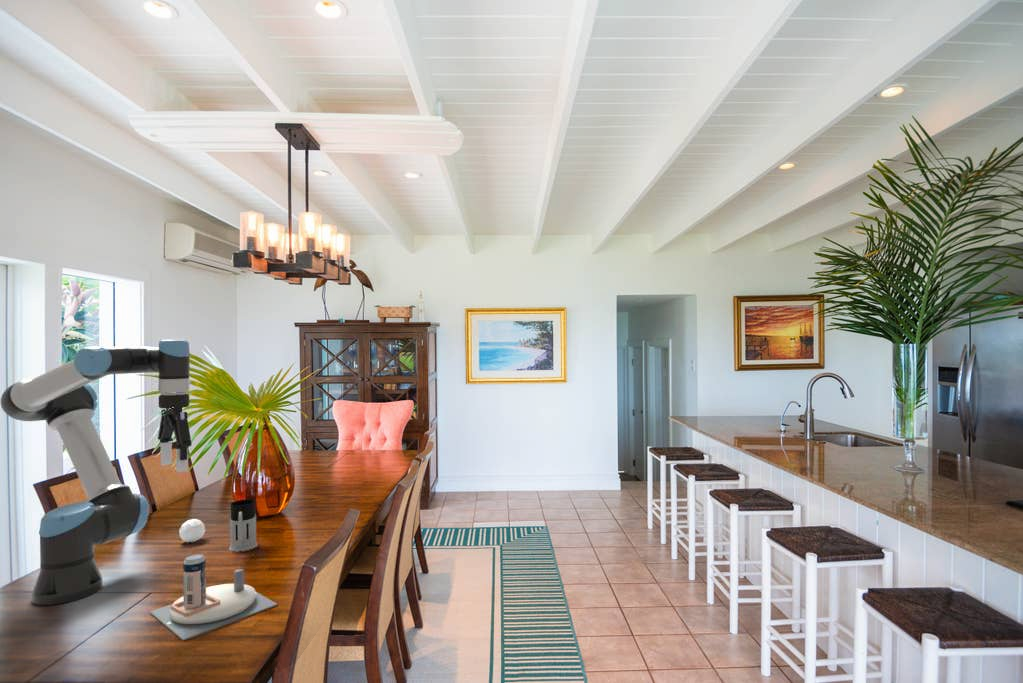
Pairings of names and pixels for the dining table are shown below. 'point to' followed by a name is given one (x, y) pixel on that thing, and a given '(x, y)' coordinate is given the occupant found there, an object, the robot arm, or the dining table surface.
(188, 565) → the blue and white canister
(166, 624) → the plate
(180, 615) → the turntable
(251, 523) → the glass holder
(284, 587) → the dining table surface
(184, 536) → the geometric ball
